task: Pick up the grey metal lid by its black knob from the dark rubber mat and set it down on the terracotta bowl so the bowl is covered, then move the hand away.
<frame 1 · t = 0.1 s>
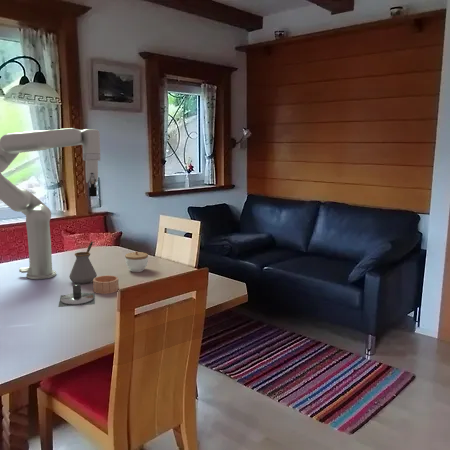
hand: (93, 195, 207), 37 cm above the table, tool pointing down, fingers open, 9 cm apart
lid: (77, 299, 175), resting on mat
lidded jar: (136, 270, 219), on the table
mat: (77, 300, 175), on the table
bowl: (106, 290, 188), on the table
coffee pot: (86, 279, 204), on the table
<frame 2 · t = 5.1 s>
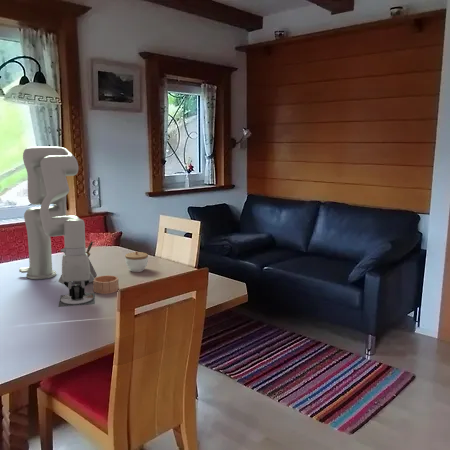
hand: (77, 296, 175), 1 cm above the table, tool pointing down, fingers closed on lid, 3 cm apart
lid: (77, 299, 175), resting on mat, touching gripper
everything else where it was.
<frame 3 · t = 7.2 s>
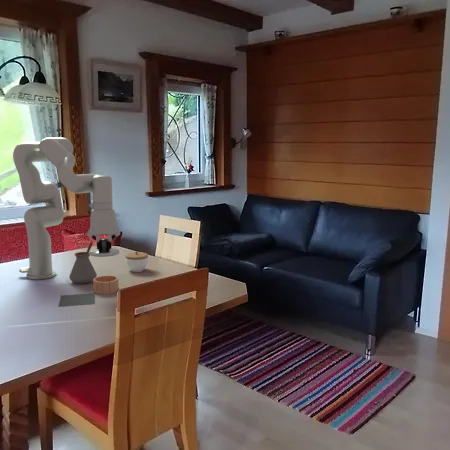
hand: (104, 250, 185), 17 cm above the table, tool pointing down, fingers closed on lid, 3 cm apart
lid: (104, 253, 185), point 16 cm above the table, touching gripper
everything else where it was.
when the fingers open (8 cm above the table, at t = 9.6 s): lid drops 2 cm, resting on bowl.
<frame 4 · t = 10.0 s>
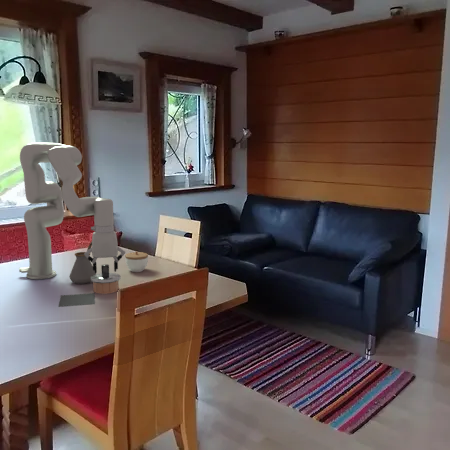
hand: (105, 271, 186), 8 cm above the table, tool pointing down, fingers open, 7 cm apart
lid: (105, 278, 187), point 5 cm above the table, touching bowl
everything else where it was.
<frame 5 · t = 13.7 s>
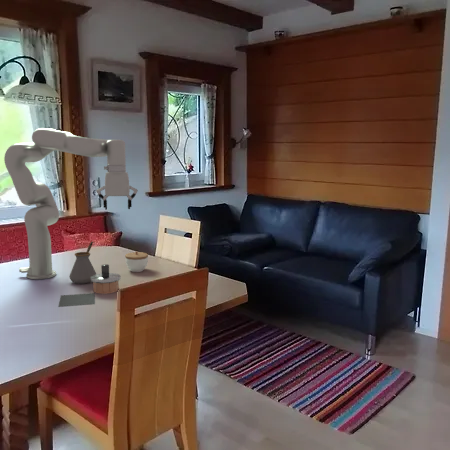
hand: (117, 209, 195), 32 cm above the table, tool pointing down, fingers open, 9 cm apart
nothing on the table moved.
at the end: lid 0.1 cm off-centre on the bowl, point 5.0 cm above the bowl's base; lid tilted 0°; the gripper is holding nothing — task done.
